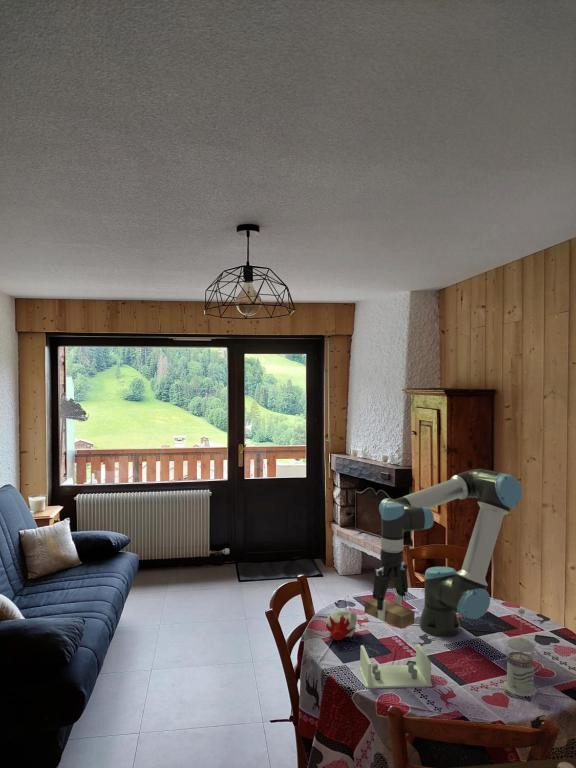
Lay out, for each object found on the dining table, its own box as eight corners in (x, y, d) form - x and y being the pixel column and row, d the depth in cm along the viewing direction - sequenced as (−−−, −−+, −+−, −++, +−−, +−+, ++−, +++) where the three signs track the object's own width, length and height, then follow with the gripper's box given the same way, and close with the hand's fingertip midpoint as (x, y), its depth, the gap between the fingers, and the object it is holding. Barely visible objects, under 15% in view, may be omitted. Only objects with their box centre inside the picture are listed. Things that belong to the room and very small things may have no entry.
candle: (357, 627, 213) (353, 651, 198) (328, 624, 215) (322, 647, 200) (357, 606, 211) (354, 628, 197) (328, 603, 214) (322, 624, 199)
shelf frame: (420, 666, 186) (420, 644, 186) (432, 686, 174) (432, 662, 174) (358, 668, 184) (359, 645, 184) (366, 688, 172) (366, 664, 172)
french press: (497, 679, 178) (499, 602, 178) (532, 678, 179) (533, 601, 179) (512, 697, 168) (514, 616, 168) (549, 695, 169) (550, 615, 169)
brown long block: (364, 612, 193) (364, 601, 193) (377, 607, 197) (377, 596, 197) (401, 628, 180) (401, 616, 180) (414, 623, 185) (414, 611, 185)
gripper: (403, 542, 197) (402, 606, 197) (362, 551, 185) (360, 619, 186) (420, 547, 191) (418, 613, 191) (378, 557, 179) (376, 627, 179)
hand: (389, 616), depth 188 cm, fingers closed on brown long block, 7 cm apart
